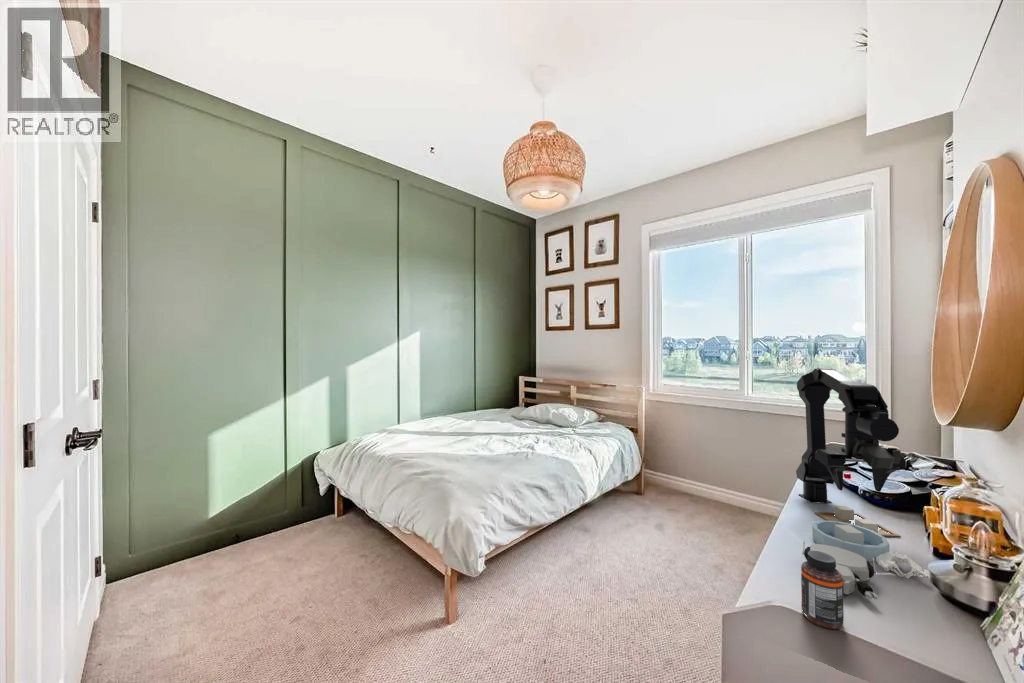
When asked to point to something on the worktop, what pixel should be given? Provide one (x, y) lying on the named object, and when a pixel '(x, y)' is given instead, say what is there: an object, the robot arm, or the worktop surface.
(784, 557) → the worktop surface
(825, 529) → the bowl
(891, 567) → the white animal skull
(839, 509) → the tan cube
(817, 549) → the robot toy
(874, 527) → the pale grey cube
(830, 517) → the tray
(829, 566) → the supplement bottle
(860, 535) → the beige cube
